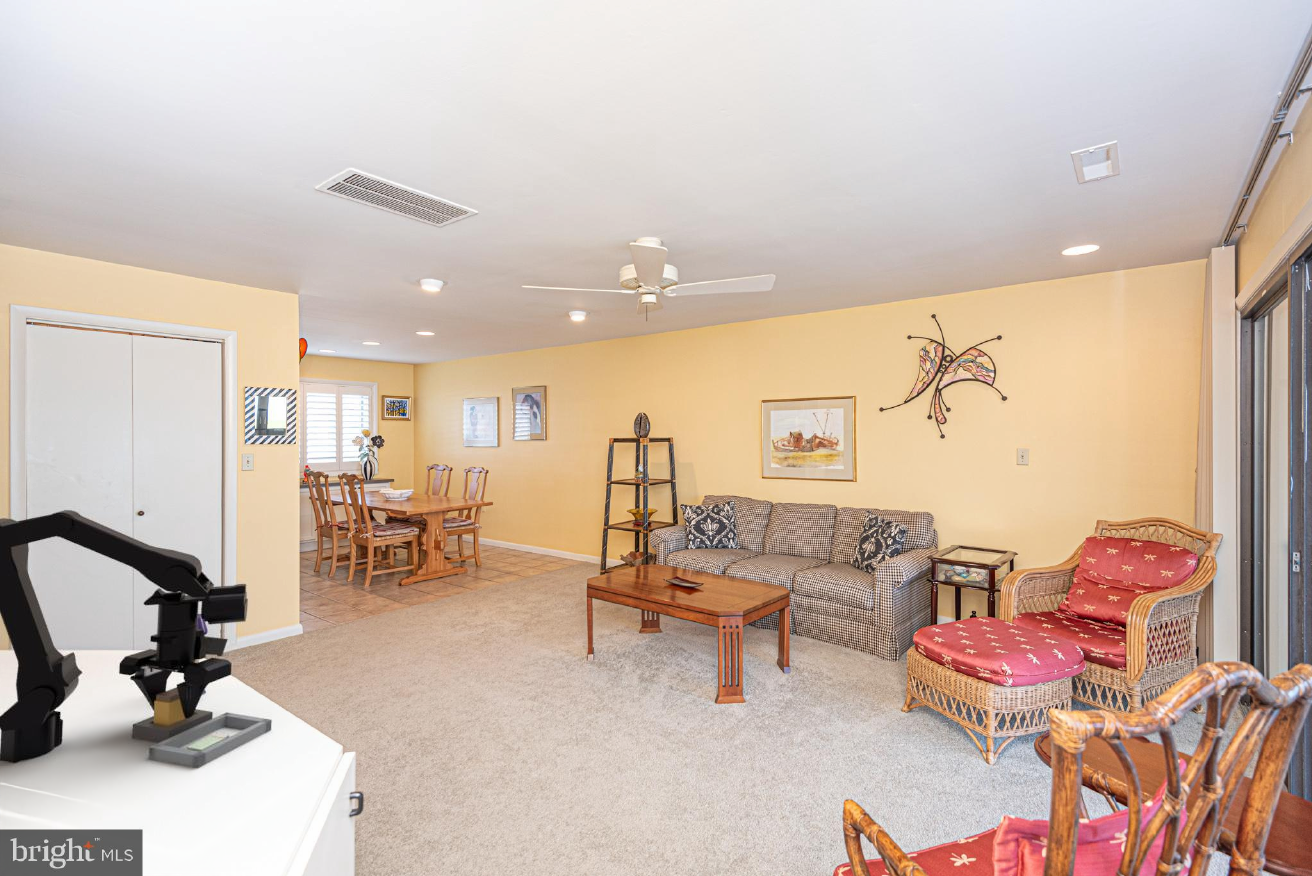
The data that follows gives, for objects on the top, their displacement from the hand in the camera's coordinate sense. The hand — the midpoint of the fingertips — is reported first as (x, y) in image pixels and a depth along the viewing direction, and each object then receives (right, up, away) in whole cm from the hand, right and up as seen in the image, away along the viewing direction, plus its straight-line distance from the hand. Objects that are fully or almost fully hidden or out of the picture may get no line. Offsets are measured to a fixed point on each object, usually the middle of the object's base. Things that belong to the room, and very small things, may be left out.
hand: (173, 715), depth 111 cm
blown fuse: (0, -3, 0) cm, 3 cm away
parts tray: (+10, -4, -4) cm, 11 cm away
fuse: (+11, -3, -7) cm, 14 cm away
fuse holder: (0, -4, 0) cm, 4 cm away
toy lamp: (-9, -4, +16) cm, 18 cm away
